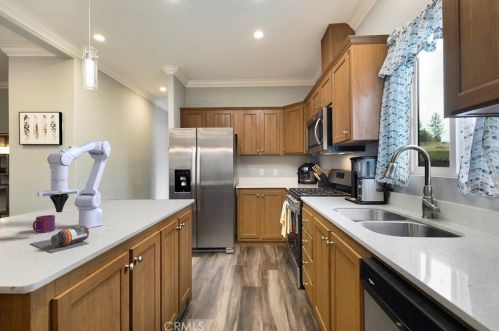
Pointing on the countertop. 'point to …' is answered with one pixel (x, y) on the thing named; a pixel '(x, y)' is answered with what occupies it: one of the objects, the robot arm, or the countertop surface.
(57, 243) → the supplement bottle
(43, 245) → the mat
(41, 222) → the mug
